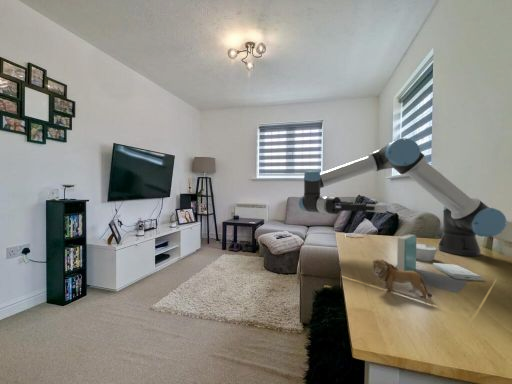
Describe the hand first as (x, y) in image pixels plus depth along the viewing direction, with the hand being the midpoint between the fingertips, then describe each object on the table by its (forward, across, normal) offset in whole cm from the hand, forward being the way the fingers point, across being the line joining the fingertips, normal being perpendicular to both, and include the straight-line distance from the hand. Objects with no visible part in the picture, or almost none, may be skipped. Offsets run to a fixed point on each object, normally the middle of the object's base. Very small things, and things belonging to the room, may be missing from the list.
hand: (385, 209), depth 88 cm
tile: (+7, 0, -22) cm, 23 cm away
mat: (+12, 0, -22) cm, 25 cm away
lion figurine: (+12, +19, -22) cm, 31 cm away
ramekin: (+4, -26, -22) cm, 34 cm away
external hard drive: (+18, -13, -22) cm, 31 cm away
